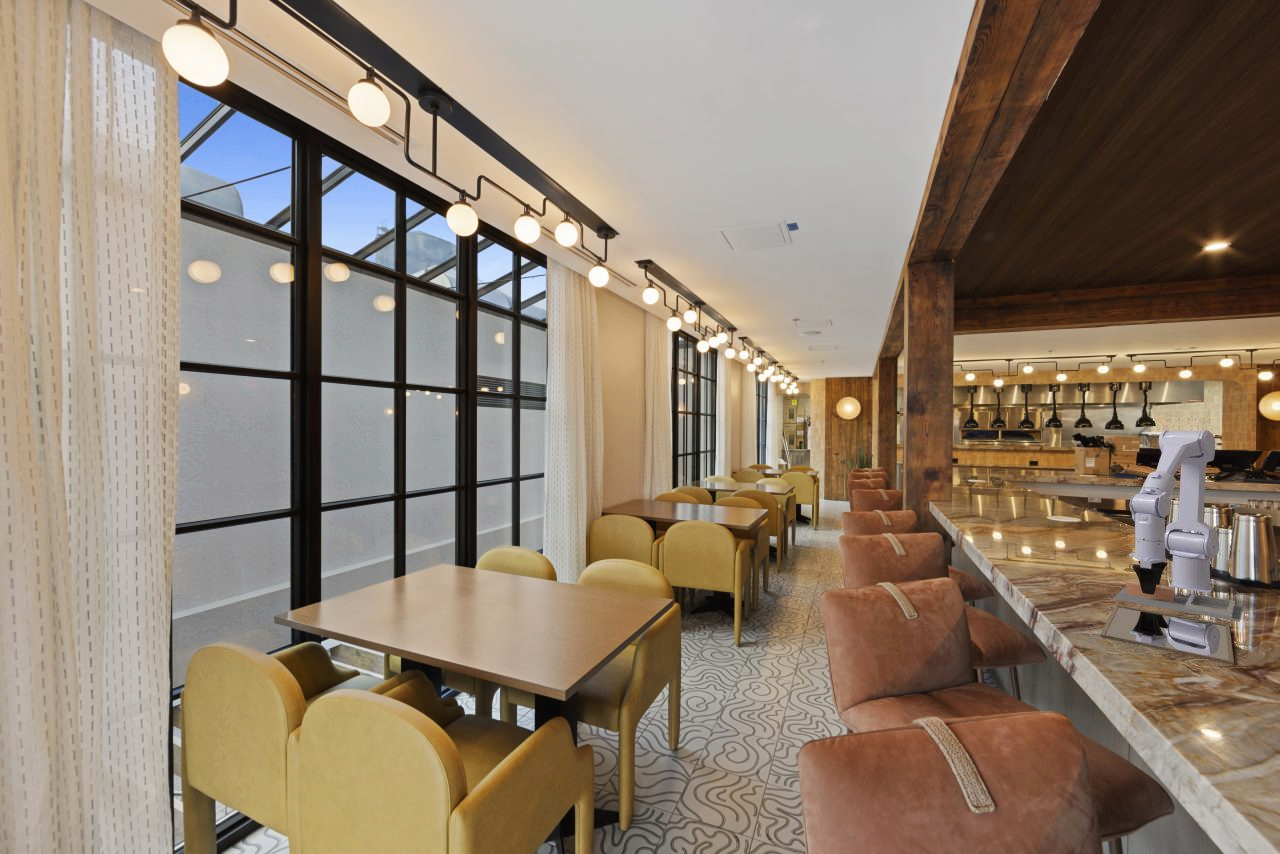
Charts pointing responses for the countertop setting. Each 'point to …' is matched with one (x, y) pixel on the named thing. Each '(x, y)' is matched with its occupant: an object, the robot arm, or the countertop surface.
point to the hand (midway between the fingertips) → (1150, 591)
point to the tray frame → (1208, 610)
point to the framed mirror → (1170, 633)
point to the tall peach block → (1160, 594)
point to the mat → (1176, 604)
